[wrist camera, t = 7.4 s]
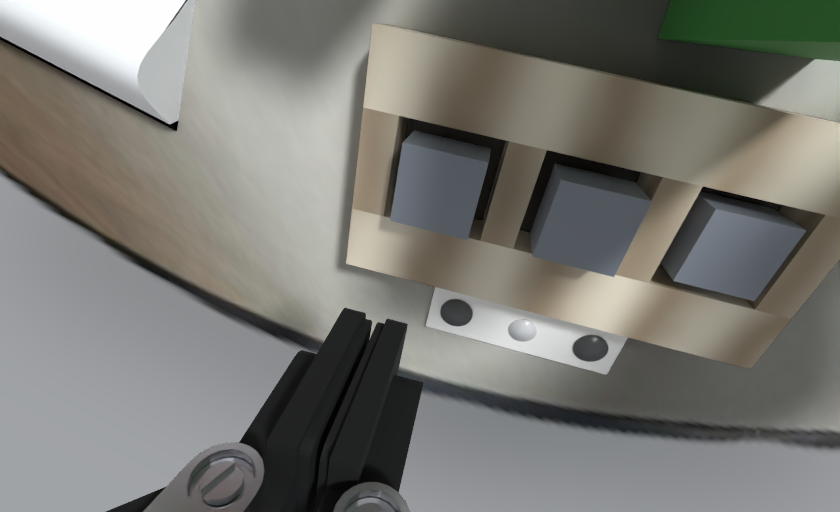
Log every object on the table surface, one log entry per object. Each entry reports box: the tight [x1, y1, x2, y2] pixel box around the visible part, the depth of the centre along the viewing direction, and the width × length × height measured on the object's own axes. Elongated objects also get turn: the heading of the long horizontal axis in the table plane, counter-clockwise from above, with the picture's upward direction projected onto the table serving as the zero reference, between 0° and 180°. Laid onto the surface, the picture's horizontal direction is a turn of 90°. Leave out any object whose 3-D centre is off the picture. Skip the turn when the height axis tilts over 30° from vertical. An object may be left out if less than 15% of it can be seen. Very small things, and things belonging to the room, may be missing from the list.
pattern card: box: [426, 287, 628, 375], centre depth 30 cm, size 14×4×1 cm, turn 79°
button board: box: [346, 23, 840, 369], centre depth 24 cm, size 26×14×3 cm, turn 79°
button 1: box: [390, 130, 491, 240], centre depth 23 cm, size 4×4×3 cm
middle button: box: [530, 163, 652, 277], centre depth 22 cm, size 4×4×3 cm
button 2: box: [661, 191, 807, 301], centre depth 23 cm, size 4×4×3 cm
